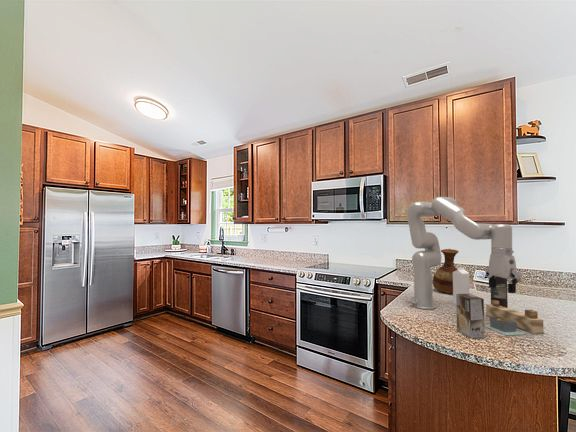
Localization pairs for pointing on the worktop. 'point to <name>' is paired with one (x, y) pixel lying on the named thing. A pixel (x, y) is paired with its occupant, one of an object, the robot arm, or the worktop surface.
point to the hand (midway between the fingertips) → (501, 290)
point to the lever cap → (503, 324)
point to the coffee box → (470, 315)
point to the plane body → (517, 317)
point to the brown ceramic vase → (445, 272)
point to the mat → (505, 332)
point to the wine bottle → (500, 292)
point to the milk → (460, 282)
